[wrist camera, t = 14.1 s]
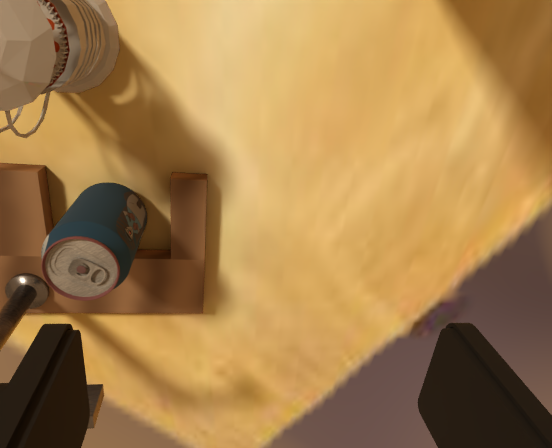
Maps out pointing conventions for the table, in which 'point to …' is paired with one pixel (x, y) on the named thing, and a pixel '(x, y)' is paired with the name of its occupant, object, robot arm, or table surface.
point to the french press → (53, 50)
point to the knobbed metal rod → (21, 297)
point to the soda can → (94, 242)
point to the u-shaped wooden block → (147, 263)
